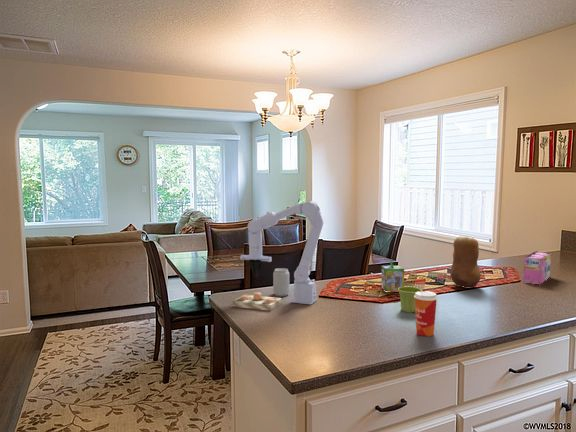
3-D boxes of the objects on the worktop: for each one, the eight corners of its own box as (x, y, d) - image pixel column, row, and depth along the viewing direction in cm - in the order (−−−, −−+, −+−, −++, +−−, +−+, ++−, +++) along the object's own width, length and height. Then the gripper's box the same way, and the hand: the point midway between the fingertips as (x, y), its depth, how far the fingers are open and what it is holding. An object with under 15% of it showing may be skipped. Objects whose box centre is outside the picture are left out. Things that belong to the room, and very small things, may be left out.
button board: (282, 303, 182) (281, 297, 182) (271, 310, 172) (271, 304, 172) (244, 299, 189) (244, 293, 189) (232, 306, 179) (232, 300, 179)
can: (287, 297, 192) (287, 271, 191) (271, 296, 194) (271, 270, 193) (290, 292, 200) (290, 267, 199) (275, 292, 201) (275, 267, 200)
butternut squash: (482, 286, 209) (483, 235, 207) (477, 292, 198) (479, 239, 196) (452, 282, 217) (453, 234, 215) (446, 288, 206) (448, 237, 204)
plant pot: (421, 308, 174) (422, 287, 173) (421, 315, 165) (421, 293, 165) (398, 306, 177) (398, 285, 176) (396, 312, 168) (396, 291, 168)
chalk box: (404, 293, 197) (405, 261, 196) (384, 293, 198) (385, 262, 196) (399, 288, 207) (400, 258, 205) (380, 288, 207) (381, 258, 206)
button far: (250, 302, 184) (250, 296, 183) (246, 304, 180) (246, 298, 180) (243, 301, 185) (243, 295, 185) (239, 303, 182) (239, 297, 182)
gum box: (534, 275, 233) (535, 250, 231) (551, 277, 227) (552, 252, 226) (522, 283, 215) (523, 256, 214) (540, 285, 210) (541, 258, 209)
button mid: (262, 299, 181) (262, 292, 181) (259, 301, 178) (259, 294, 178) (255, 298, 182) (255, 292, 182) (252, 300, 179) (252, 294, 179)
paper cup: (409, 330, 149) (410, 291, 148) (431, 329, 149) (431, 290, 148) (418, 338, 141) (419, 297, 140) (440, 337, 142) (441, 296, 140)
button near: (275, 305, 179) (275, 298, 179) (272, 307, 176) (272, 300, 176) (268, 304, 180) (268, 298, 180) (264, 306, 177) (264, 300, 177)
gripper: (274, 245, 187) (274, 276, 188) (245, 244, 193) (245, 273, 194) (267, 248, 181) (268, 279, 182) (237, 246, 186) (238, 276, 187)
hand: (256, 276), depth 188 cm, fingers closed
